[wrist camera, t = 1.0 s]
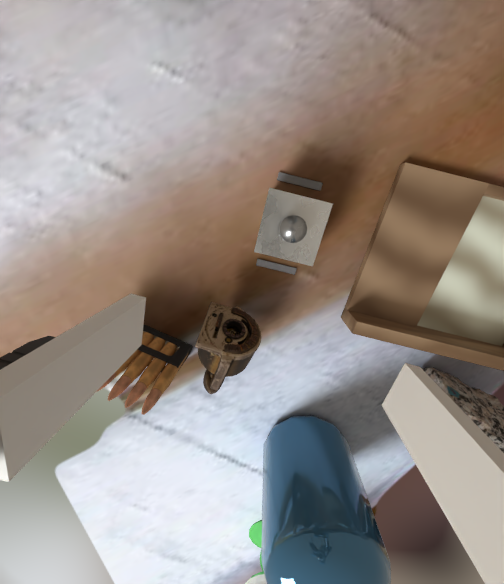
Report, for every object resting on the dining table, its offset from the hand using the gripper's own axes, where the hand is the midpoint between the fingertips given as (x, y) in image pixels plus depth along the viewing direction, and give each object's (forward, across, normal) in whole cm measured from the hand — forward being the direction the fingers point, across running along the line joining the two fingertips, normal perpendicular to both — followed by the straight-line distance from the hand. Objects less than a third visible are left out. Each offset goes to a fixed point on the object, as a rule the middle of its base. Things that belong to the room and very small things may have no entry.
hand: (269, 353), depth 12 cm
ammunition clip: (+19, -13, -14) cm, 27 cm away
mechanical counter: (+19, -2, -11) cm, 22 cm away
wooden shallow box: (+19, +21, +6) cm, 29 cm away
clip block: (+19, +1, +5) cm, 20 cm away
